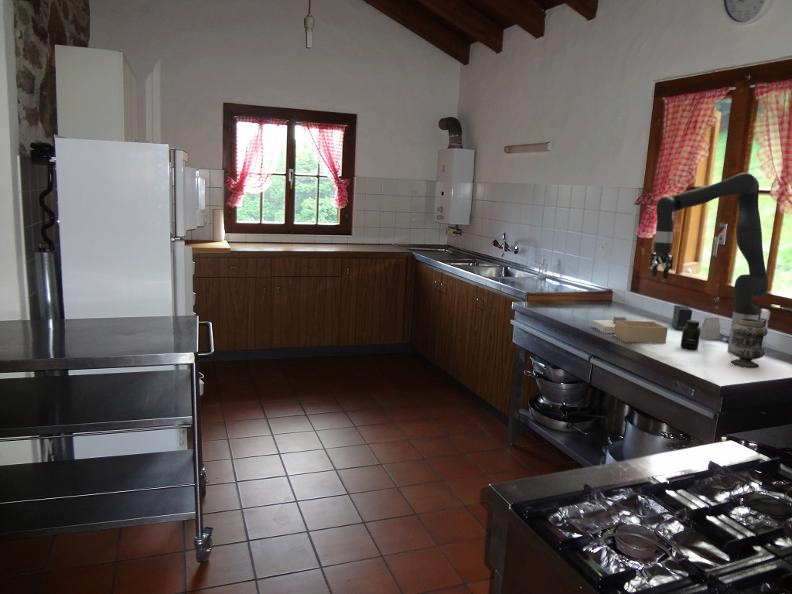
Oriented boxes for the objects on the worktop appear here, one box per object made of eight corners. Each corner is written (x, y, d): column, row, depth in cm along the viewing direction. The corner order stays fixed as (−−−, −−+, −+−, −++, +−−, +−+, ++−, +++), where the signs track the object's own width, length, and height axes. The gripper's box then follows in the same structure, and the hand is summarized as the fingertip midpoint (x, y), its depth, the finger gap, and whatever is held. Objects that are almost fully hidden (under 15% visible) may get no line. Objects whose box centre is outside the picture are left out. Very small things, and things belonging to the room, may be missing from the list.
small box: (690, 331, 300) (693, 310, 298) (675, 330, 301) (678, 308, 299) (684, 326, 310) (687, 306, 308) (670, 325, 311) (673, 304, 309)
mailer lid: (645, 334, 287) (647, 321, 286) (604, 333, 285) (606, 320, 284) (631, 327, 301) (632, 314, 299) (592, 326, 298) (593, 313, 297)
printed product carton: (718, 340, 285) (721, 318, 283) (705, 340, 284) (708, 318, 282) (712, 337, 288) (716, 316, 287) (699, 337, 287) (703, 316, 285)
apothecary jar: (750, 361, 251) (757, 317, 247) (769, 370, 239) (776, 324, 236) (720, 359, 250) (727, 315, 247) (738, 368, 238) (745, 322, 235)
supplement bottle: (687, 350, 262) (691, 322, 259) (676, 346, 268) (680, 319, 266) (701, 350, 263) (705, 322, 261) (690, 346, 270) (694, 319, 268)
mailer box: (665, 343, 273) (667, 327, 272) (626, 342, 270) (628, 326, 269) (651, 336, 284) (653, 321, 283) (613, 335, 282) (615, 320, 281)
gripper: (680, 242, 277) (676, 279, 279) (661, 240, 291) (658, 275, 293) (664, 242, 275) (660, 279, 278) (646, 240, 289) (643, 275, 292)
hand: (659, 277), depth 285 cm, fingers open, 8 cm apart
